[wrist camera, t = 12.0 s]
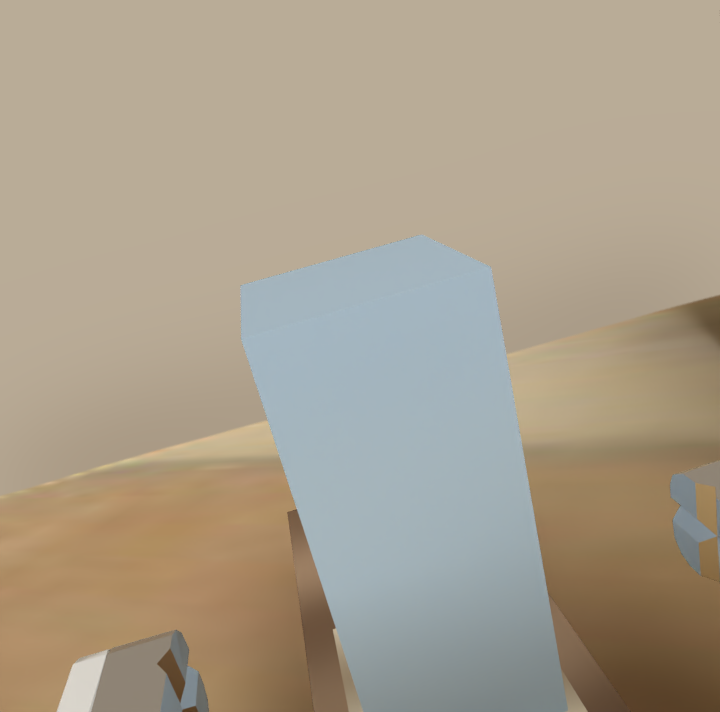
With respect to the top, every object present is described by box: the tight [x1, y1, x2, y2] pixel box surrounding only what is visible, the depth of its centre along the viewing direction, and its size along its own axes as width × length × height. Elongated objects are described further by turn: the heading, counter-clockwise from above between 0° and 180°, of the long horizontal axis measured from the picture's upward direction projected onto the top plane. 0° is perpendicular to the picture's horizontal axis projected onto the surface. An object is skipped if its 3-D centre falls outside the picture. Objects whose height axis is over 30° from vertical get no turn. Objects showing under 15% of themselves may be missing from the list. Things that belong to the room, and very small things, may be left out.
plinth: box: [288, 509, 631, 712], centre depth 22 cm, size 16×8×3 cm, turn 11°
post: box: [241, 235, 568, 712], centre depth 17 cm, size 5×5×12 cm
